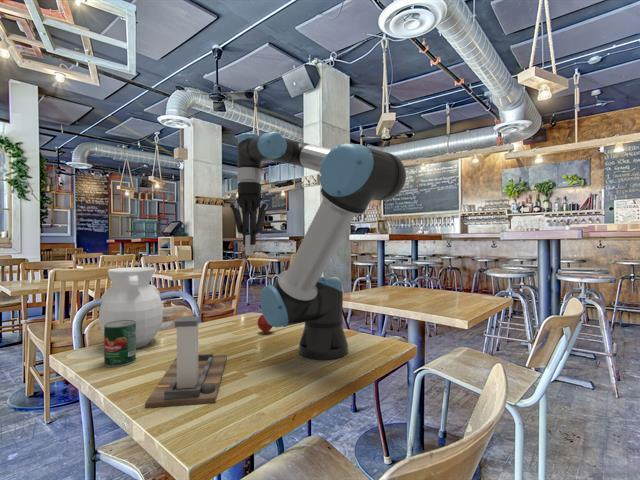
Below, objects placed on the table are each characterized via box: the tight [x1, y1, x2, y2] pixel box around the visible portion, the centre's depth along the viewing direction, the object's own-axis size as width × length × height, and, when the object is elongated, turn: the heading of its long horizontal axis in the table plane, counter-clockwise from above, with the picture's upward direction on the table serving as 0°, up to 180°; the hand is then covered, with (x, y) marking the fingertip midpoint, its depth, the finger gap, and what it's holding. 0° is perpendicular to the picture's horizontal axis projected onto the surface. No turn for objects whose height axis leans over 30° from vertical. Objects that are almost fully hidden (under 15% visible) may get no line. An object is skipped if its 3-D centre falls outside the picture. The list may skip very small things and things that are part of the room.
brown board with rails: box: [144, 353, 228, 409], centre depth 88 cm, size 28×14×2 cm, turn 10°
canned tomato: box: [103, 320, 137, 368], centre depth 100 cm, size 8×8×11 cm
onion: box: [257, 313, 274, 334], centre depth 131 cm, size 6×6×8 cm
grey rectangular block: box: [174, 315, 201, 389], centre depth 82 cm, size 5×5×15 cm
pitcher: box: [98, 266, 164, 349], centre depth 116 cm, size 19×18×25 cm
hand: (249, 255), depth 116 cm, fingers closed
